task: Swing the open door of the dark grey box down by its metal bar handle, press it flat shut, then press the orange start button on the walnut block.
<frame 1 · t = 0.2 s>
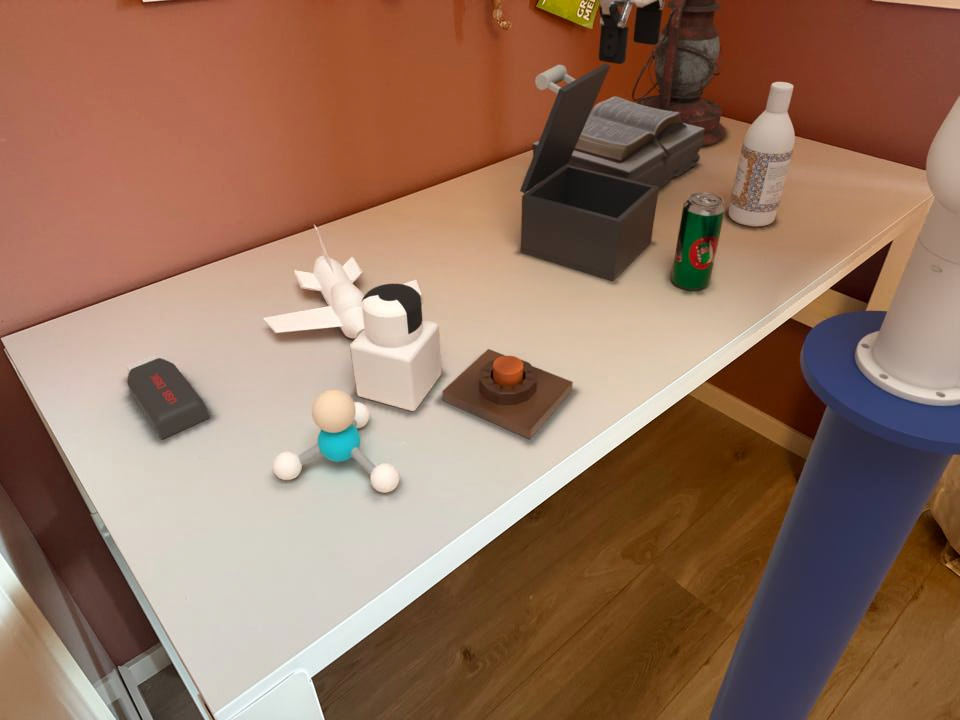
hand: (629, 52, 88), 27 cm above the table, tool pointing down, fingers open, 9 cm apart
lantern: (674, 131, 140), on the table
start button: (508, 370, 76), point 4 cm above the table, slide at 0.1 cm
usb drive: (166, 401, 78), on the table
door: (549, 119, 96), point 17 cm above the table, hinge at 70.0°
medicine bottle: (400, 386, 80), on the table
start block: (507, 396, 78), on the table
soda can: (689, 283, 96), on the table
bath foam: (750, 218, 111), on the table
airplane model: (342, 309, 92), on the table
dark grey box: (586, 247, 104), on the table
molecule model: (339, 458, 71), on the table
bible: (616, 172, 125), on the table
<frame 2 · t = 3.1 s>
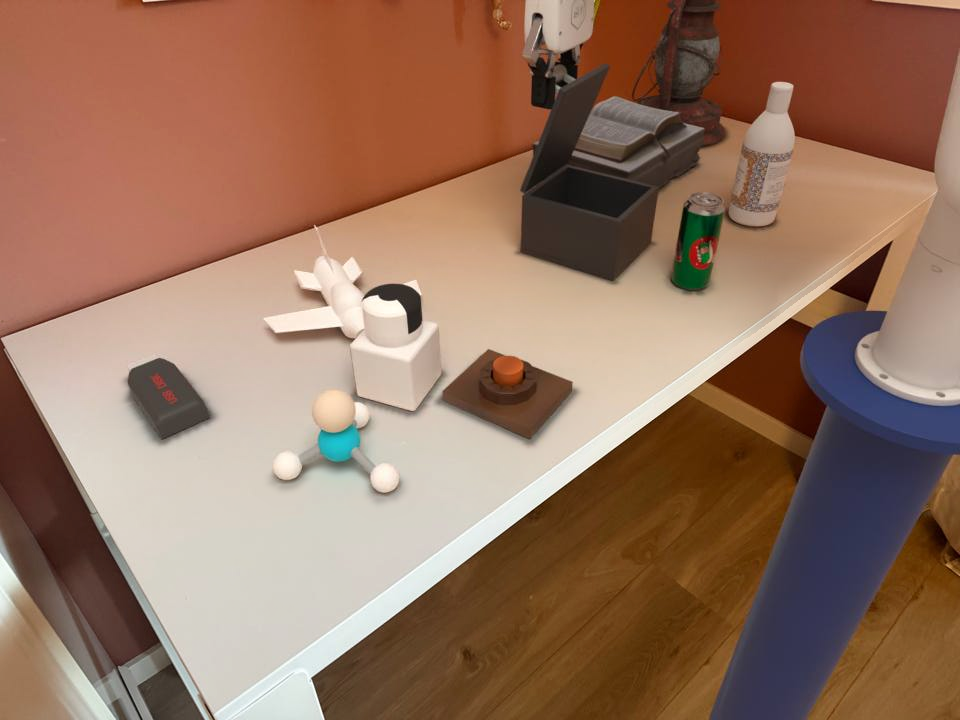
hand: (553, 99, 94), 20 cm above the table, tool pointing down, fingers closed on door, 5 cm apart
door: (549, 119, 96), point 17 cm above the table, hinge at 70.0°, touching gripper
everything else where it was.
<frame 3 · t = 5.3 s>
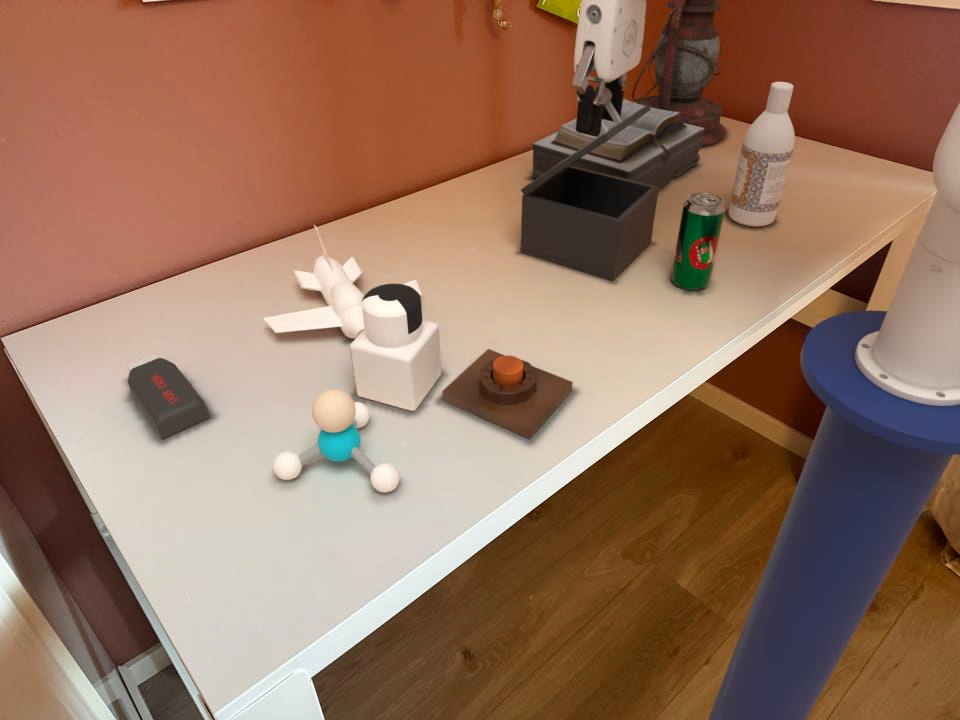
hand: (598, 125, 93), 18 cm above the table, tool pointing down, fingers closed on door, 5 cm apart
door: (574, 134, 95), point 16 cm above the table, hinge at 40.5°, touching gripper
everything else where it was.
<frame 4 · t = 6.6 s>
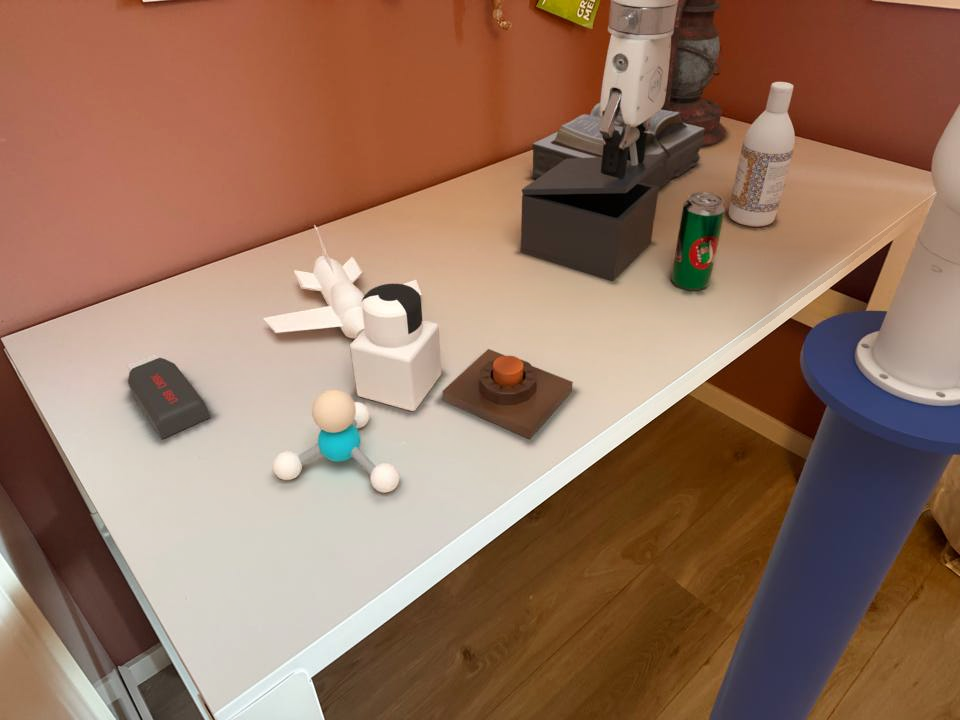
hand: (622, 166, 94), 13 cm above the table, tool pointing down, fingers closed on door, 5 cm apart
door: (590, 156, 96), point 14 cm above the table, hinge at 14.9°, touching gripper
everything else where it was.
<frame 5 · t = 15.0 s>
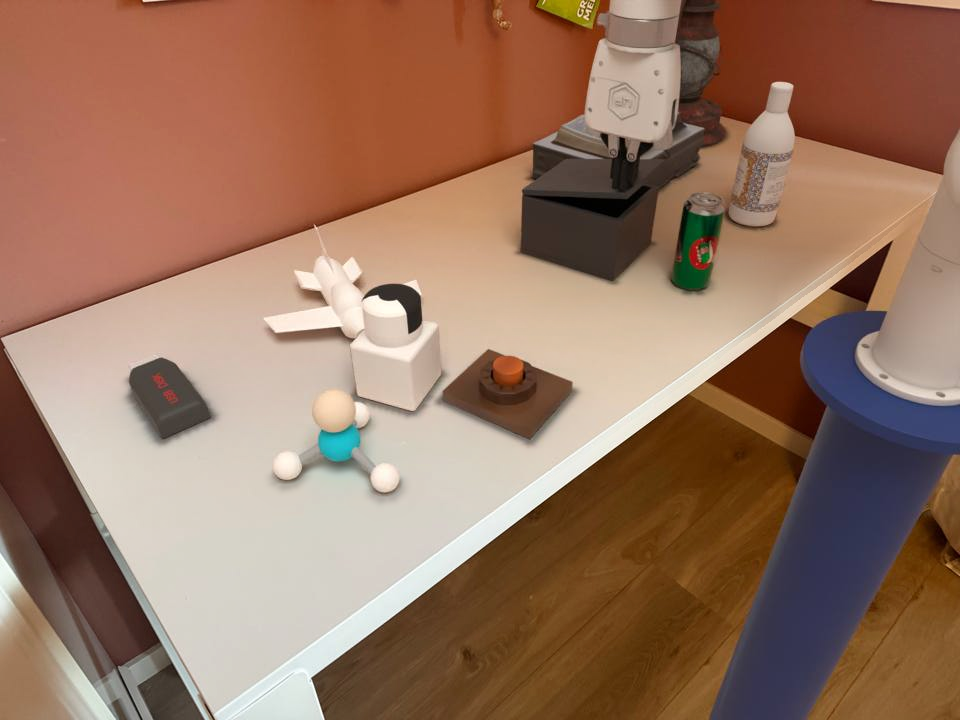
hand: (622, 186, 90), 13 cm above the table, tool pointing down, fingers closed
door: (592, 159, 96), point 13 cm above the table, hinge at 11.9°, touching gripper
everything else where it was.
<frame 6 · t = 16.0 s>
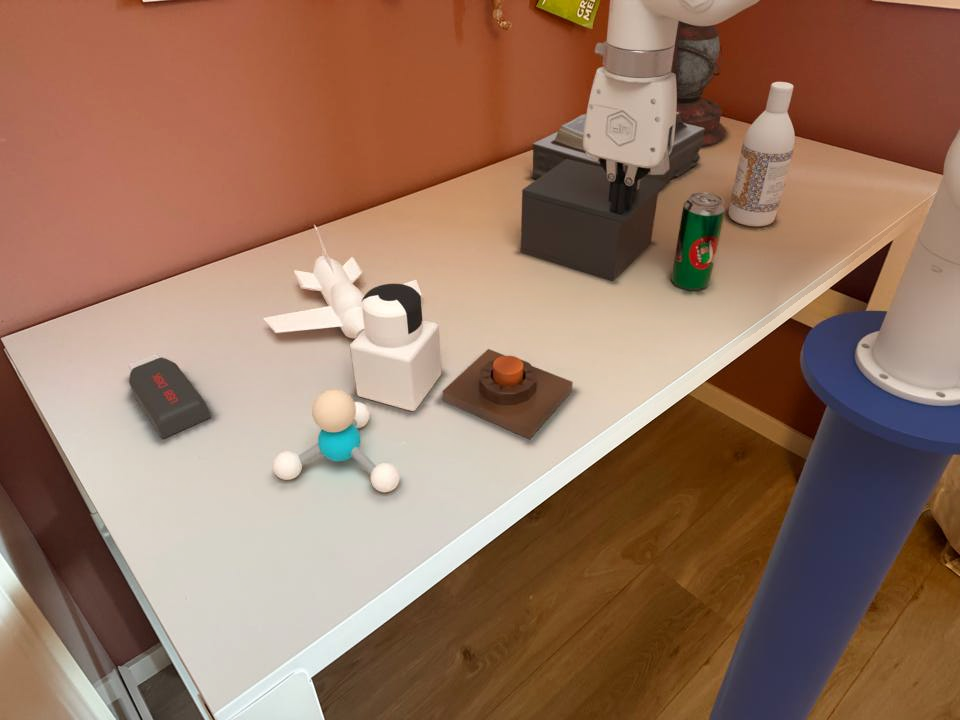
hand: (620, 208, 92), 10 cm above the table, tool pointing down, fingers closed
door: (595, 171, 96), point 12 cm above the table, hinge at 0.0°, touching gripper
everything else where it was.
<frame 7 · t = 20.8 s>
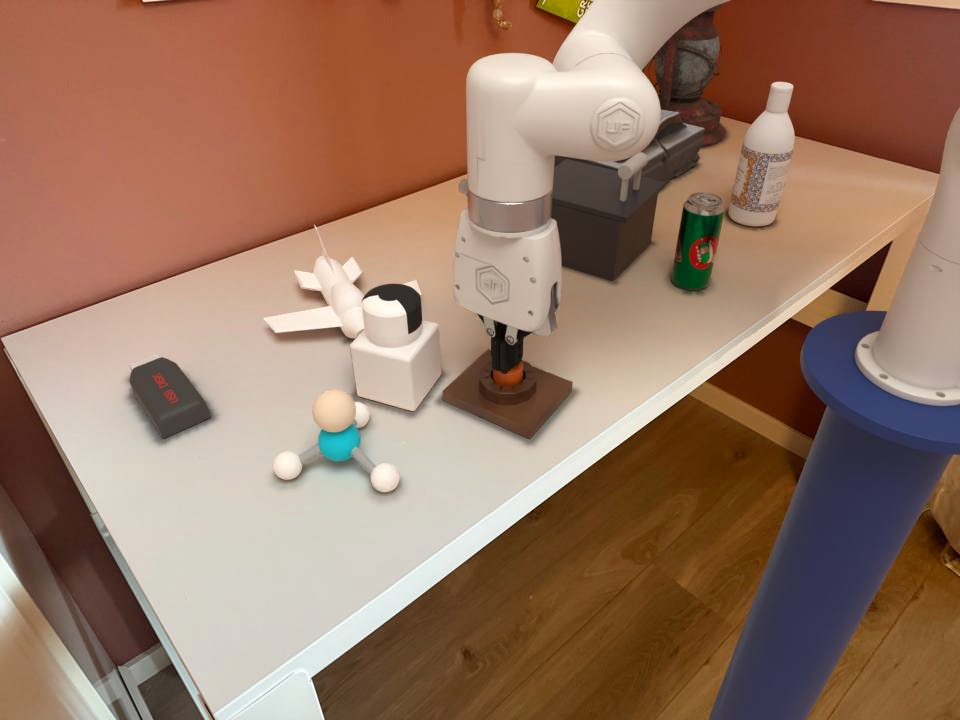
hand: (506, 364, 75), 4 cm above the table, tool pointing down, fingers closed
start button: (508, 371, 76), point 3 cm above the table, slide at 0.1 cm, touching gripper
door: (595, 171, 96), point 12 cm above the table, hinge at 0.0°
everything else where it was.
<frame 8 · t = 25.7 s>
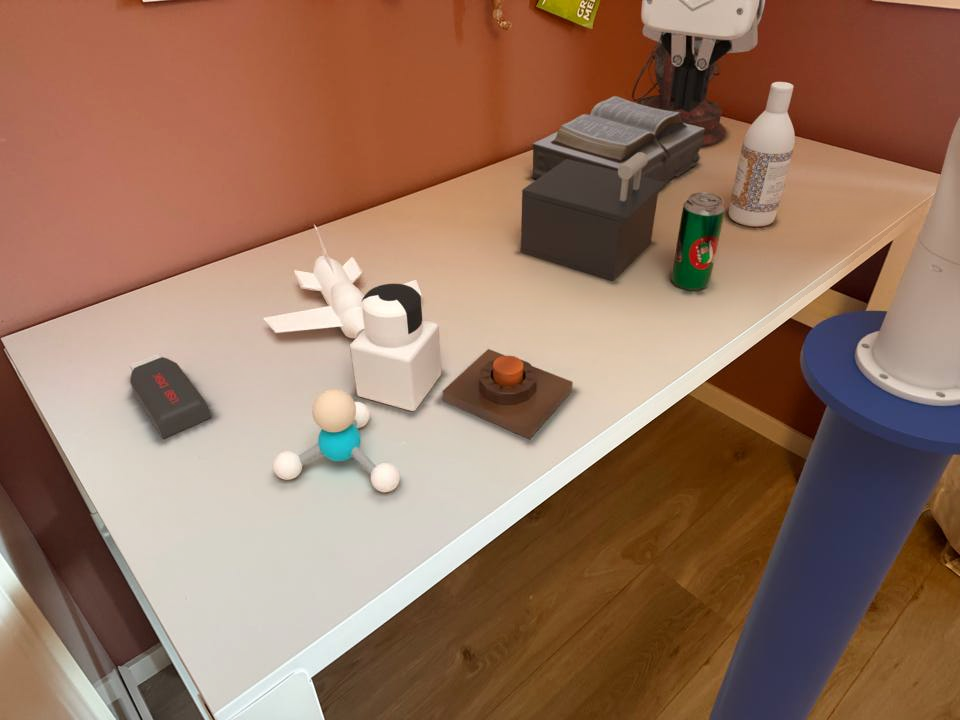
hand: (686, 106, 71), 27 cm above the table, tool pointing down, fingers closed
start button: (508, 370, 76), point 4 cm above the table, slide at 0.1 cm
everything else where it was.
at the end: door at +0° (first picture: +70°); start button pushed in 1.0 cm at the most during the clip, back to where it started at the end; start button slide at 0.1 cm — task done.
